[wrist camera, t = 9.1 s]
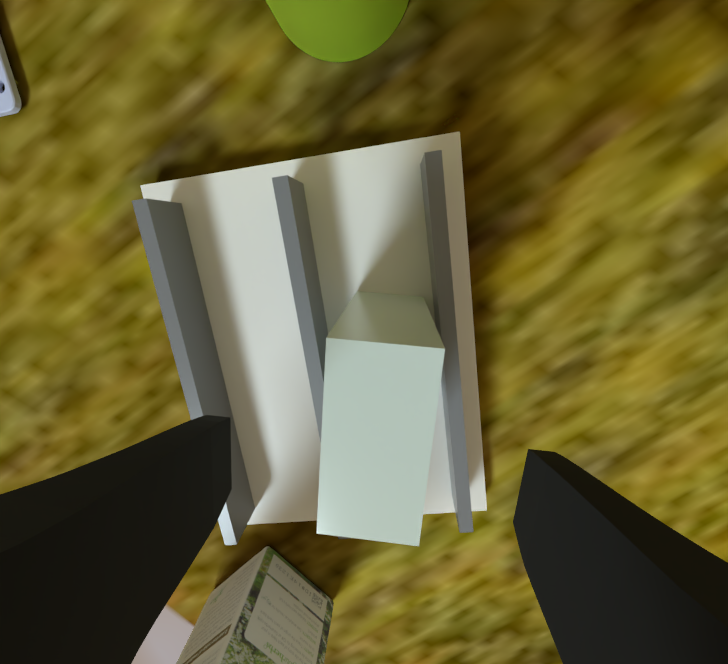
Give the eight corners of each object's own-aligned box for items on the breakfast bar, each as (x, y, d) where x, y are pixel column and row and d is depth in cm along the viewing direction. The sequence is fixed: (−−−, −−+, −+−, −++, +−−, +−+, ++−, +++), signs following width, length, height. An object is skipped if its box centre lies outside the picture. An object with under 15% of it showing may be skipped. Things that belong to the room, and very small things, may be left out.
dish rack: (153, 188, 18) (97, 177, 15) (456, 137, 16) (471, 112, 13) (236, 513, 22) (208, 563, 19) (482, 497, 21) (499, 549, 17)
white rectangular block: (409, 417, 19) (418, 546, 11) (348, 411, 19) (316, 533, 11) (423, 296, 17) (445, 348, 10) (356, 290, 17) (326, 337, 10)
